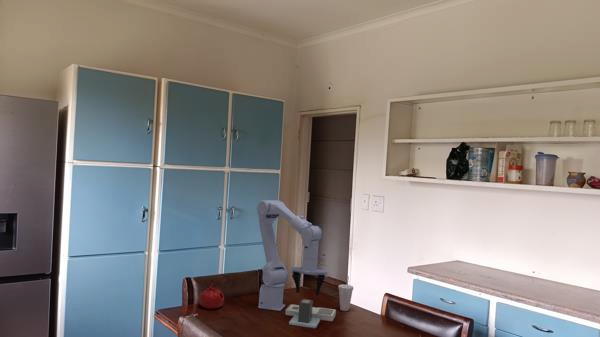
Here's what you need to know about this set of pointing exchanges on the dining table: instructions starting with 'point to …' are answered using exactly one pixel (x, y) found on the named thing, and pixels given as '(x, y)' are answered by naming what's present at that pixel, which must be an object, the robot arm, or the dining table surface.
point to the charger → (305, 310)
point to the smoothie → (345, 296)
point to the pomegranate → (211, 298)
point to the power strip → (313, 312)
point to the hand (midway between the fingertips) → (307, 293)
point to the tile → (312, 323)
